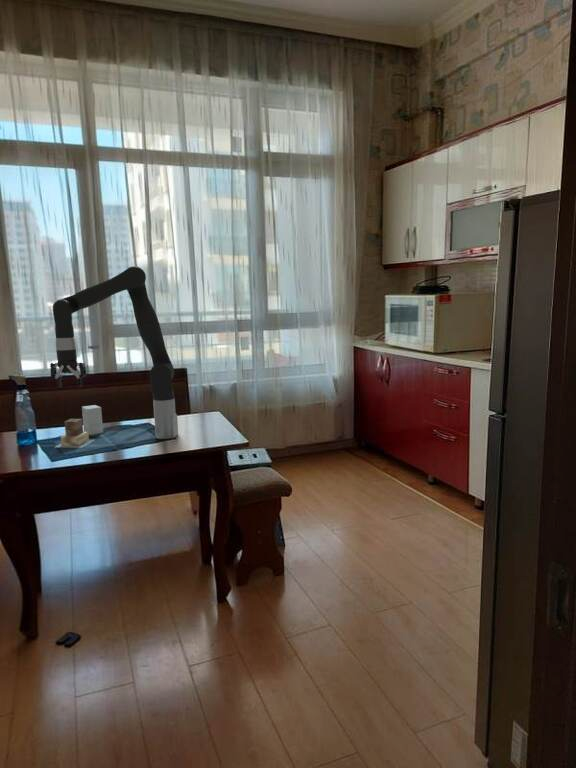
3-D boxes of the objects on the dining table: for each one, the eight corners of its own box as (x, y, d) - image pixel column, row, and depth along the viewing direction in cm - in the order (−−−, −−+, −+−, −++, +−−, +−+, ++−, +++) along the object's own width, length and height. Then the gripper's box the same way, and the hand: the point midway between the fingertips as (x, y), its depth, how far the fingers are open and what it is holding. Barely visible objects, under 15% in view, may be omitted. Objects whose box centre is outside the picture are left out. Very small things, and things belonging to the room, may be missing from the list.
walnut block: (83, 432, 219) (81, 418, 218) (77, 435, 214) (75, 421, 213) (72, 432, 219) (70, 418, 218) (65, 435, 215) (64, 421, 214)
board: (95, 442, 223) (95, 439, 223) (82, 450, 211) (81, 447, 211) (69, 441, 224) (69, 439, 224) (54, 450, 212) (54, 447, 212)
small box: (103, 435, 234) (101, 407, 232) (89, 437, 230) (87, 409, 228) (97, 431, 240) (95, 404, 238) (83, 434, 237) (81, 406, 234)
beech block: (89, 440, 221) (88, 431, 220) (79, 446, 213) (78, 436, 212) (71, 440, 222) (70, 431, 221) (61, 445, 214) (60, 436, 213)
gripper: (87, 347, 215) (90, 385, 218) (54, 347, 216) (58, 385, 219) (78, 349, 208) (81, 388, 210) (44, 349, 209) (48, 388, 212)
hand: (69, 387), depth 215 cm, fingers open, 8 cm apart
